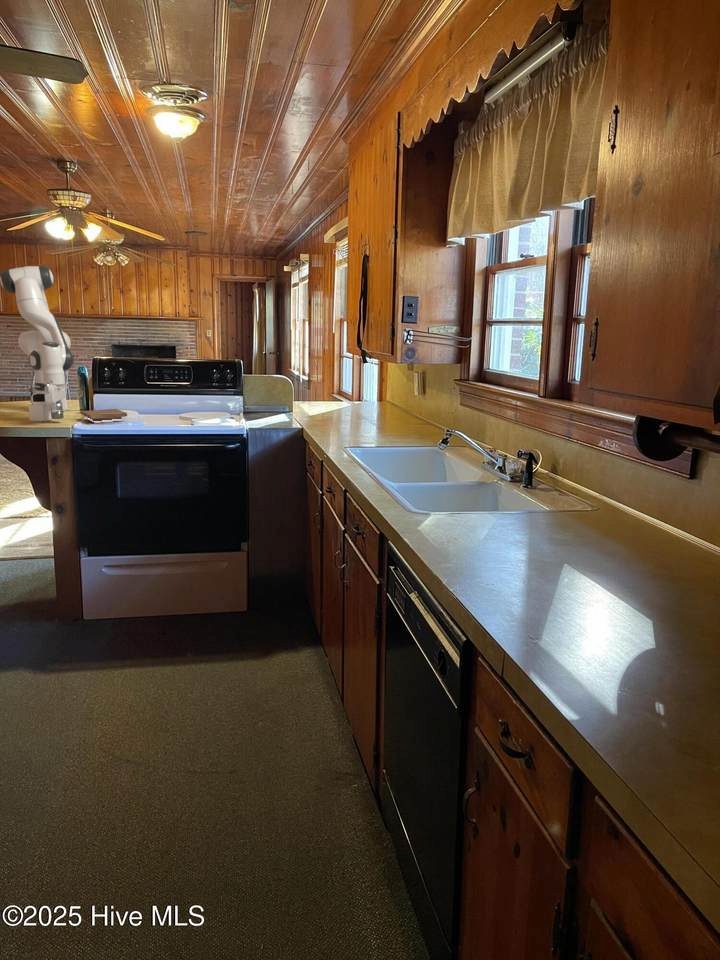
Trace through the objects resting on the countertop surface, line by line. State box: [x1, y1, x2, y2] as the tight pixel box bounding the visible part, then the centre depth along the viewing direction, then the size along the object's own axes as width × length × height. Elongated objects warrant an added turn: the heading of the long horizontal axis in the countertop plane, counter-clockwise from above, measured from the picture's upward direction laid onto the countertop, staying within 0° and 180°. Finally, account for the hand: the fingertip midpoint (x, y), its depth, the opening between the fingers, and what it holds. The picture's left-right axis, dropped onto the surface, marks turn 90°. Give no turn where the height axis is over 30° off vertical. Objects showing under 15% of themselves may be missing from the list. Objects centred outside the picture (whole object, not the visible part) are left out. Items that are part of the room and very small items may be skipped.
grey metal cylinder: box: [50, 402, 64, 420], centre depth 313 cm, size 5×5×7 cm
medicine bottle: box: [28, 394, 53, 422], centre depth 319 cm, size 7×7×12 cm
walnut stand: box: [80, 408, 128, 421], centre depth 321 cm, size 16×16×4 cm
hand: (56, 411), depth 313 cm, fingers closed on grey metal cylinder, 5 cm apart
